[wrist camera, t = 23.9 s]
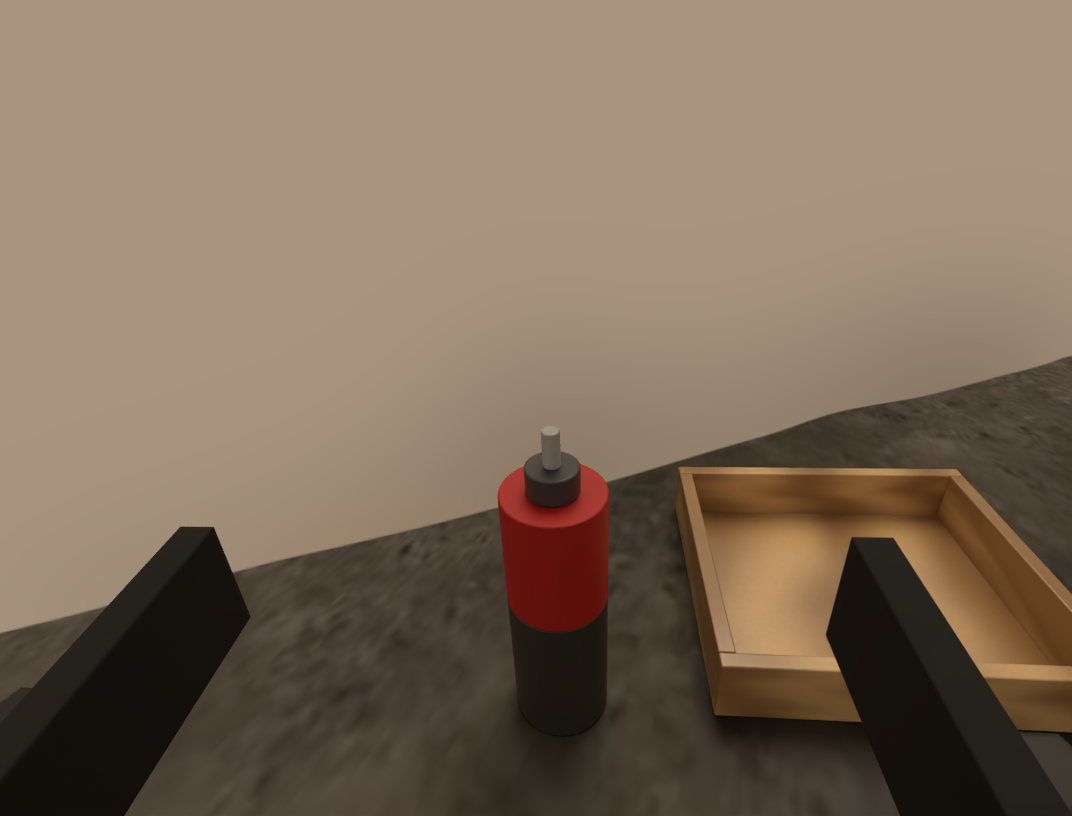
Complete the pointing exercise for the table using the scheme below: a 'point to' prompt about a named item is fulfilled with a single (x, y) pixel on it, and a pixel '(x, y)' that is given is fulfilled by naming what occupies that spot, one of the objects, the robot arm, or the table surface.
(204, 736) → the table surface
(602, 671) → the red squeeze bottle
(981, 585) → the storage box
